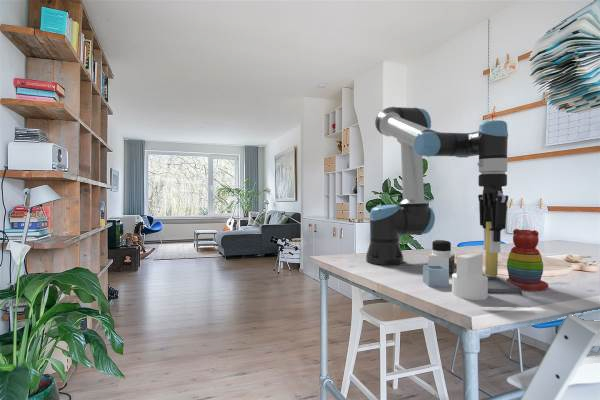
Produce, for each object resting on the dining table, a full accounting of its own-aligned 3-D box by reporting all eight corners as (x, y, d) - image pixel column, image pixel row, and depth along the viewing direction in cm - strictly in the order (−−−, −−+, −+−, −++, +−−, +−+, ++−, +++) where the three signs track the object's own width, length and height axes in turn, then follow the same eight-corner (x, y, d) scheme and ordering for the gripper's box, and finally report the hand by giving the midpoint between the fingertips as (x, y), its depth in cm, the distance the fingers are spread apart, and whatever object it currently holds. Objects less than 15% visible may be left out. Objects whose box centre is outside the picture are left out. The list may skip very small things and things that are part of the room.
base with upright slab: (462, 290, 103) (462, 250, 103) (493, 298, 96) (494, 255, 96) (445, 296, 98) (445, 254, 97) (477, 305, 91) (478, 259, 90)
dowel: (494, 273, 106) (494, 221, 106) (499, 275, 103) (500, 222, 103) (483, 273, 107) (483, 221, 106) (488, 275, 103) (489, 222, 103)
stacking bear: (550, 287, 106) (551, 229, 105) (541, 294, 99) (542, 232, 98) (510, 280, 114) (511, 226, 113) (499, 286, 107) (500, 229, 106)
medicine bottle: (449, 277, 117) (449, 242, 117) (427, 274, 122) (428, 241, 121) (454, 273, 123) (454, 240, 123) (433, 270, 127) (434, 238, 127)
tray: (464, 281, 112) (464, 275, 112) (496, 282, 112) (496, 276, 112) (485, 295, 98) (485, 288, 98) (521, 295, 98) (521, 288, 98)
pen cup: (422, 283, 111) (422, 265, 111) (441, 283, 111) (441, 265, 110) (428, 289, 105) (428, 269, 105) (448, 289, 105) (449, 269, 105)
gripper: (468, 174, 112) (467, 246, 113) (493, 172, 96) (492, 256, 97) (491, 174, 112) (491, 246, 112) (521, 172, 95) (520, 256, 96)
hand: (491, 250), depth 105 cm, fingers closed on dowel, 3 cm apart
